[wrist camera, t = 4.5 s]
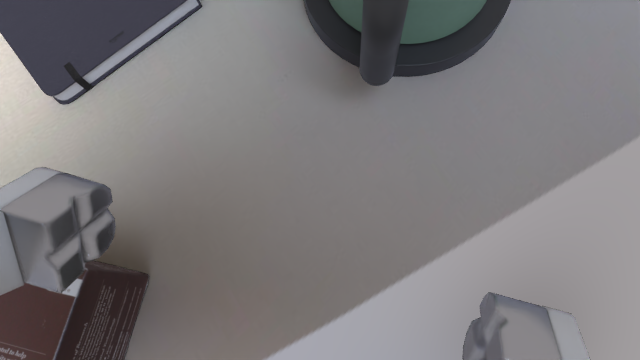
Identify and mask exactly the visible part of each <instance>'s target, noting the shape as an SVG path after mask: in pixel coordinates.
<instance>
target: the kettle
mask: <svg viewBox="0 0 640 360" xmlns="http://www.w3.org/2000/svg"><path fill="white" fill-rule="evenodd" d="M486 1H487V0H329V2H330V3H331V5H332V7H333V8H334V10H335V11H336V12H337V13H338V15H339V16H340V17H341V18H342V19H343V20H344V21H345V22H346V23H348V24H349V25H350V26H352V27H353V28H354V29H356V30H358V31H359V32H361V50H360V74H361V76H362V78H363V80H364V81H365V82H367V83H368V84H370V85H374V86H379V85H383V84H385V83H387V82H388V81H389V80H390V79H391V77H392V76H393V73H394V70H395V65H396V60H397V55H398V51H399V46H400V44H416V43H424V42H429V41H434V40H437V39H440V38H443V37H446V36H448V35H450V34H452V33H454V32H456V31H457V30H459V29H461V28H462V27H464V26H465V25H466V24H467V23H469V22H470V21H471V20H472V19H473V18H474V17H475V16H476V15H477V14H478V13H479V12H480V10H481V9H482V7H483V6H484V4H485V3H486Z"/></svg>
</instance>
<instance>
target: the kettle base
mask: <svg viewBox="0 0 640 360" xmlns="http://www.w3.org/2000/svg"><path fill="white" fill-rule="evenodd" d="M510 1H511V0H487V1H486V3H485V4H484V6H483V7H482V9H481V10H480V12H479V13H478V14H477V15H476V16H475V17H474V18H473V19H472V20H471V21H470V22H469V23H467V24H466V25H465V26H464V27H462V28H461V29H459V30H457V31H456V32H454V33H452V34H450V35H448V36H446V37H443V38H440V39H437V40H434V41H429V42H424V43H416V44H400V46H399V51H398V55H397V60H396V65H395V70H394V73H393V76H408V77H409V76H420V75H426V74H431V73H436V72H439V71H442V70H445V69H448V68H450V67H453V66H455V65H457V64H459V63H461V62H463V61H464V60H466V59H467V58H469V57H470V56H472V55H473V54H474V53H476V52H477V51H478V50H479V49H480V48H481V47H483V46H484V44H485V43H486V42H487V41H488V40H489V39H490V38H491V36H492V35H493V33H494V32H495V30H496V29H497V27H498V25H499V24H500V22H501V20H502V18H503V17H504V15H505V13H506V10H507V8H508V6H509V4H510ZM304 3H305V8H306V12H307V14H308V17H309V20H310V22H311V24H312V26H313V28H314V29H315V31H316V33H317V34H318V35H319V37H320V38H321V39H322V41H323V42H324V43H325V44H326V45H327V46H328V47H329V48H330V49H331V50H332V51H333V52H335V53H336V54H337V55H339V56H340V57H341V58H343V59H345V60H346V61H348V62H350V63H352V64H353V65H355V66H358V67H360V50H361V32H359V31H358V30H356V29H354V28H353V27H352V26H350V25H349V24H348V23H346V22H345V21H344V20H343V19H342V18H341V17H340V16H339V15H338V13H337V12H336V11H335V10H334V8H333V7H332V5H331V3H330V2H329V0H304Z"/></svg>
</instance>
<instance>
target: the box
mask: <svg viewBox="0 0 640 360" xmlns="http://www.w3.org/2000/svg"><path fill="white" fill-rule="evenodd" d="M148 281H149V275H148V274H145V273H141V272H137V271H133V270H128V269H125V268H121V267H117V266H114V265H110V264H106V263H101V262H97V261H93V260H92V261H89V262H86V263H85V271H84V273H83V274H81V275H80V276H79V277H78V278H77V279H76V280H75V281H74V282H73V283H72V284H71V285H70V286H69V287H68V288H67V289H66V290H64V291H63V292H62V293H59V292H55V291H52V290H48V289H45V288H41V287H38V286H34V285H31V284H27V283H24V285H23V286H20V287H18V288H16V289H14V290H11V291H9V292H7V293H5V294H2V295H0V360H124V357H125V354H126V351H127V348H128V344H129V340H130V337H131V334H132V330H133V327H134V324H135V321H136V318H137V315H138V312H139V309H140V306H141V302H142V300H143V296H144V294H145V291H146V288H147V284H148Z"/></svg>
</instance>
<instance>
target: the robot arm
mask: <svg viewBox="0 0 640 360" xmlns="http://www.w3.org/2000/svg"><path fill="white" fill-rule="evenodd" d="M112 202H113V201H112V195H111V189H110V188H108V187H107V186H106V185H104V184H100V183H97V182H94V181H91V180H87V179H84V178H81V177H77V176H74V175H71V174H68V173H63V172H60V171H56V170H53V169H50V168H46V167H41V168H35V169H33V170H32V171H30V172H28V173H26V174H25V175H23V176H21V177H19V178H18V179H16V180H14V181H12V182H10V183H9V184H7V185H5V186H3V187H2V188H0V295H2V294H5V293H7V292H9V291H11V290H14V289H16V288H18V287H20V286H23V285H24V283H27V284H31V285H34V286H38V287H41V288H45V289H48V290H52V291H55V292H59V293H62V292H63V291H64V290H66V289H67V288H68V287H69V286H70V285H71V284H72V283H73V282H74V281H75V280H76V279H77V278H78V277H79V276H80V275H81V274H83V273H84V271H85V263H86V262H89V261H92V260H95V259H98V258H99V257H100V256H101V255H102V254H103V253H104V252H105V251H106V250H107V249H108V248H109V246H110V244H111V242H112V240H113V238H114V234H115V228H116V226H115V218H114V217H113V215H112V214H111V212H110V211H109V210H108V207H109V206H110V204H111V203H112ZM480 314H481V317H480V318H478V319H476V320H473V321H472V322H471V325H470V326H469V329H468V331H467V333H466V337H465V341H464V346H463V360H590V357H589V355H588V352H587V349H586V346H585V344H584V341H583V338H582V336H581V333H580V330H579V328H578V325H577V322H576V319H575V317H574V316H573V315H572V314H571V313H568V312H564V311H560V310H557V309H553V308H549V307H545V306H539V305H535V304H531V303H528V302H524V301H520V300H516V299H513V298H509V297H505V296H502V295H498V294H494V293H491V292H489V293H488V294H486V295H485V297H484V298H483V300H482V302H481V304H480Z"/></svg>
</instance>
